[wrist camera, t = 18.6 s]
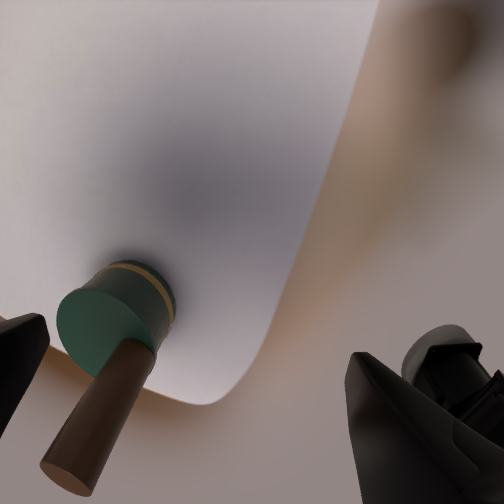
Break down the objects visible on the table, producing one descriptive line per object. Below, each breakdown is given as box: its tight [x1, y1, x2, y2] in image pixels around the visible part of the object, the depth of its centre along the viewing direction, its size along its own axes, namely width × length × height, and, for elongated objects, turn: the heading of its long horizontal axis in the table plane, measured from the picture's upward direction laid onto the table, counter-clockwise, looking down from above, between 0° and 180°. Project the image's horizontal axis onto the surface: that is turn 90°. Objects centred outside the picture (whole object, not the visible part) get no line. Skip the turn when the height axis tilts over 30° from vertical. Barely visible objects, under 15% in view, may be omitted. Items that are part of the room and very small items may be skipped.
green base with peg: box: [40, 286, 157, 497], centre depth 13 cm, size 7×7×10 cm
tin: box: [82, 260, 176, 352], centre depth 20 cm, size 7×7×5 cm
